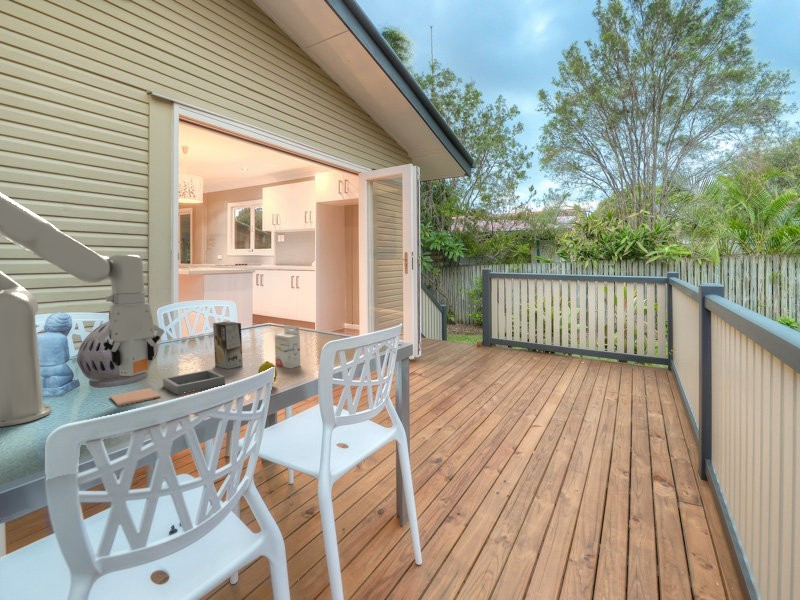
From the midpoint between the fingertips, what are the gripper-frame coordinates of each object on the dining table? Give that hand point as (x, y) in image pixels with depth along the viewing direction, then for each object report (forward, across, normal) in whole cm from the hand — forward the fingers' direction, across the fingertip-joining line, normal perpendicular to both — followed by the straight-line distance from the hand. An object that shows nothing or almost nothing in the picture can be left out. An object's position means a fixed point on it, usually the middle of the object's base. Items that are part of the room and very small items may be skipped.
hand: (133, 361), depth 114 cm
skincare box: (+3, 0, 0) cm, 3 cm away
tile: (+10, 0, 0) cm, 10 cm away
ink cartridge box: (+11, +49, 0) cm, 50 cm away
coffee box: (+11, +34, +16) cm, 39 cm away
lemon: (+11, +31, -18) cm, 37 cm away
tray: (+11, +16, 0) cm, 19 cm away
